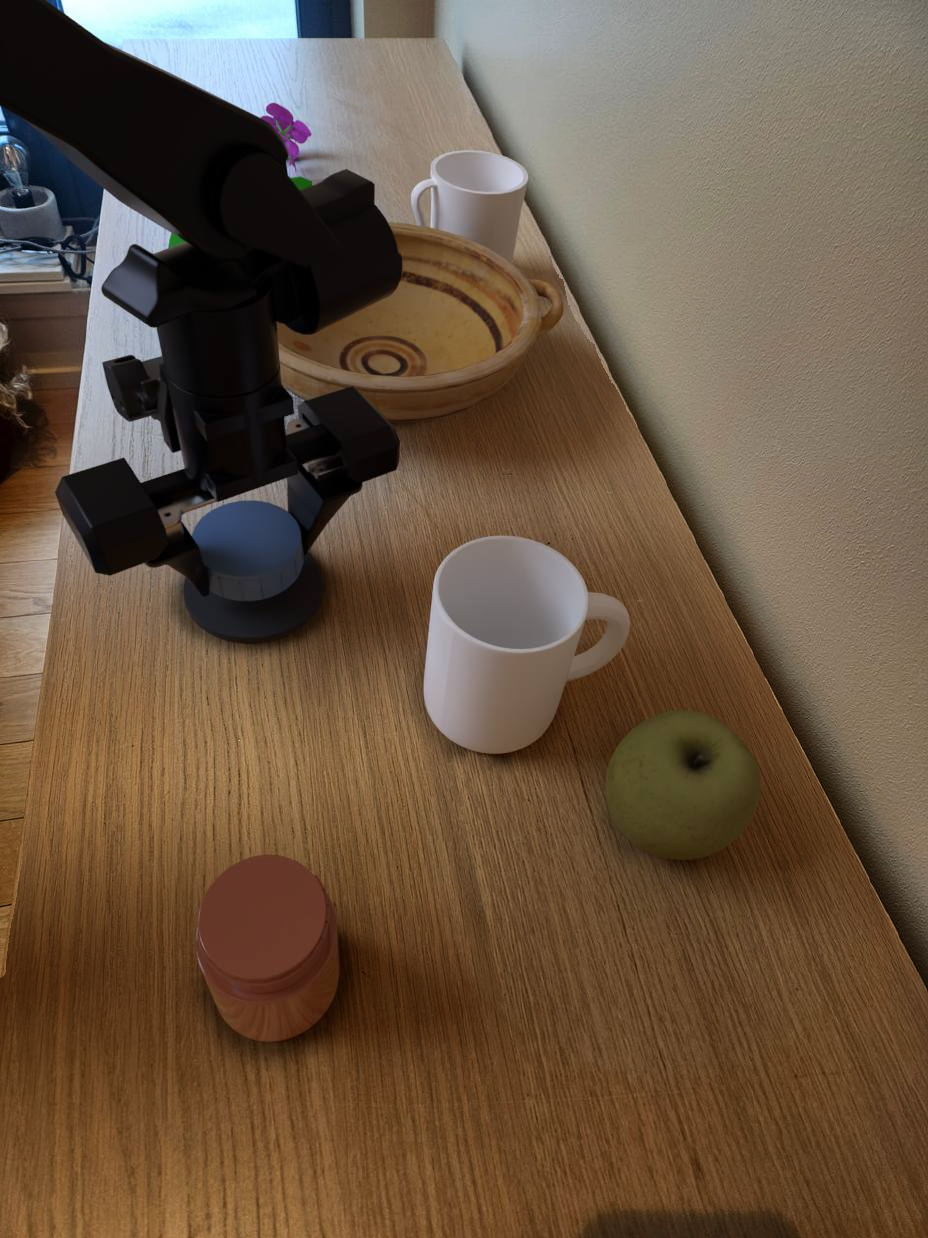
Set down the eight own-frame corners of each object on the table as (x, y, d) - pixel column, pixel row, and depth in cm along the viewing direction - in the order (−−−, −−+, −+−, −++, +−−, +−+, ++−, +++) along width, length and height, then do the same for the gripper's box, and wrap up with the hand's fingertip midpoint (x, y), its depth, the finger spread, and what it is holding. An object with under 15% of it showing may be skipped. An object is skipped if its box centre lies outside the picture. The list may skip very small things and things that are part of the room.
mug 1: (490, 251, 89) (503, 146, 81) (527, 296, 84) (545, 188, 76) (391, 264, 86) (394, 155, 78) (424, 311, 81) (431, 200, 73)
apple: (755, 858, 48) (805, 797, 43) (629, 902, 46) (666, 844, 40) (687, 746, 52) (725, 677, 47) (569, 781, 50) (595, 714, 45)
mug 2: (588, 634, 57) (625, 523, 49) (629, 740, 52) (678, 634, 44) (411, 655, 55) (420, 541, 47) (436, 768, 50) (451, 662, 42)
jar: (247, 1070, 39) (226, 1021, 33) (192, 956, 42) (164, 892, 36) (362, 994, 42) (362, 935, 35) (303, 892, 44) (294, 821, 38)
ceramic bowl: (503, 292, 84) (514, 210, 78) (600, 449, 70) (623, 364, 64) (192, 317, 77) (177, 228, 70) (229, 499, 62) (215, 407, 56)
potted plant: (194, 351, 80) (248, 206, 104) (348, 275, 75) (367, 142, 99) (100, 228, 72) (183, 102, 96) (267, 135, 67) (310, 27, 91)
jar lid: (273, 512, 58) (271, 487, 56) (322, 576, 55) (321, 551, 53) (178, 548, 55) (172, 522, 53) (223, 617, 52) (219, 592, 50)
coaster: (220, 664, 53) (218, 658, 53) (162, 571, 57) (160, 565, 57) (348, 608, 57) (348, 602, 56) (284, 525, 61) (284, 519, 61)
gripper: (310, 253, 52) (319, 456, 64) (-18, 329, 44) (63, 545, 56) (410, 348, 46) (399, 551, 58) (56, 455, 38) (128, 664, 50)
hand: (252, 572), depth 56 cm, fingers closed on jar lid, 6 cm apart
